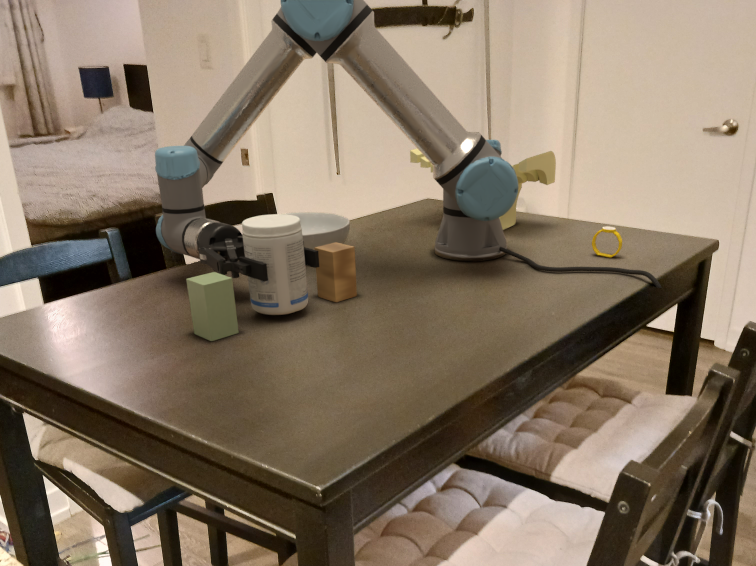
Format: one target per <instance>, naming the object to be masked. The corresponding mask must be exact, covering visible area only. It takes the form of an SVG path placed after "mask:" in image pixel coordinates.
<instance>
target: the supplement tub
mask: <svg viewBox="0 0 756 566" xmlns="http://www.w3.org/2000/svg"><path fill="white" fill-rule="evenodd" d="M241 228H242V230H241V234H242V235H243V244H244V252H245V257H246V258H250V259H253V260H256V261H259V262H263V263H266V264H267V274H268V281H261V280H258V279H255V278H252V277H249V276H247V283H248V291H249V292H248V293H249V298H250V306H251V308H252V310H254V311H255V312H256V313H259V314H263V315H267V316H268V315H269V316H281V315H289V314H292V313H295V312H299V311H301V310H304V308H306V307H307V306H308V303H309V291H308V280H307V269H306V265H305V256H304V245H303V235H302V227H301V224H300V219H299V218H298V217H297V216H293V215H286V214H284V213H275V214H274V213H273V214H271V213H270V214H262V215H256V216H252V217H249V218H246V219H244V220H243V221H242V222H241Z"/></svg>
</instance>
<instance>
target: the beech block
mask: <svg viewBox="0 0 756 566" xmlns="http://www.w3.org/2000/svg"><path fill="white" fill-rule="evenodd" d="M314 249H315V250H317V251H318V253H319V267H317V268H315V276H316V289H317V297H318V298H321V299H324V300H327V301H330V302H332V303H333V302H334V303H340V302H342V301H346V300H348V299H349V300H350V299H351V298H354V297H355V298H356V297H358V290H357V289H358V287H357V270H356V267H357V266H356V250H355V246H354V245H349V244H345V243H343V244H341V243H337V242H335V243H331V244H327V245H323V246H318V247H315V248H314Z"/></svg>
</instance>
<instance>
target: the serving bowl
mask: <svg viewBox="0 0 756 566" xmlns="http://www.w3.org/2000/svg"><path fill="white" fill-rule="evenodd" d="M283 214H286V215H293V216H297V217H298V218H299V219H300V224H301V227H302V235H303V241H304V247H306V248H309V249H313V250H315V249H314V248H315V247H318V246H323V245H327V244H331V243H335V242H337V243H341V244H345V242H346V240H347V239H348V236H349V233H350V224H351V222H350V219H349V218H348V217H346V216H344V215H342V214H337V213H332V212H321V211H297V212H285V213H283Z"/></svg>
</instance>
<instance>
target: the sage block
mask: <svg viewBox="0 0 756 566" xmlns="http://www.w3.org/2000/svg"><path fill="white" fill-rule="evenodd" d="M185 280H186V287H187V295H188V301H189V308H190V314H191V322H192V329H193V334H194V335H196V336H198V337H200V338H202V339H205V340H207V341H210V342H214V341H217V340H220V339H223V338H228V337H230V336H233V335H237V334H239V324H238V314H237V308H236V300H235V292H234V283H233V278H232V276H231V277H230V276H227V275H222V274H219V273H217V272H216V271H212V272H209V273H208V272H207V273H205V274H200V275H196V276H192V277H188V278H186V279H185Z"/></svg>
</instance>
